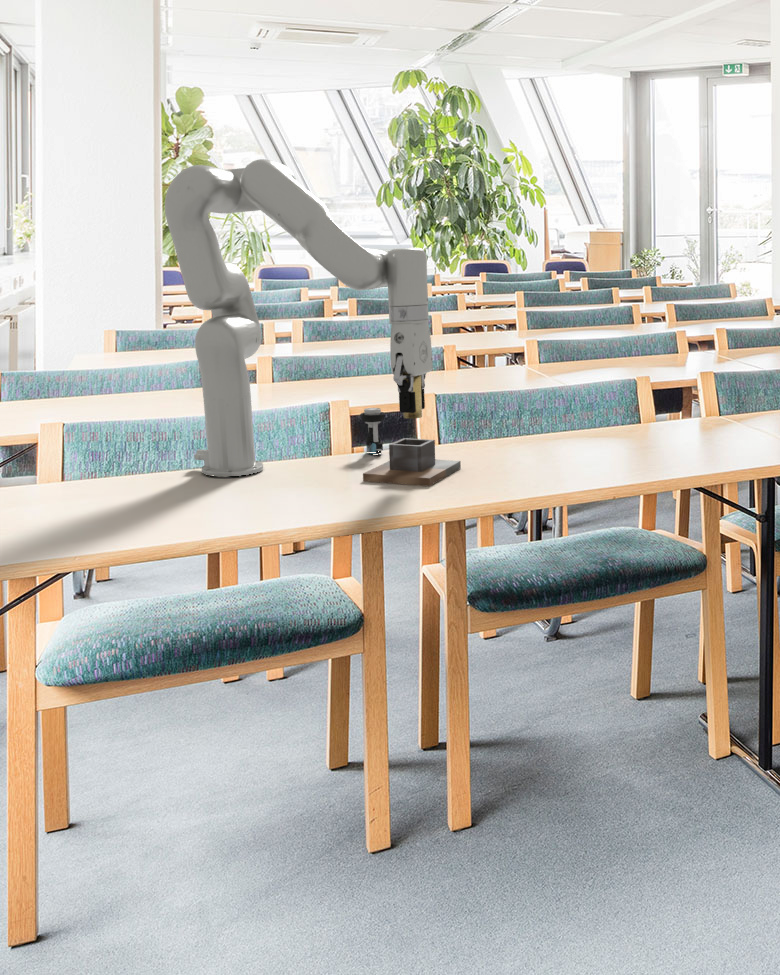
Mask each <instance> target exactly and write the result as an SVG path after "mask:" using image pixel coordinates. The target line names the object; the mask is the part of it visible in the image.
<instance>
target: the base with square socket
mask: <svg viewBox="0 0 780 975" xmlns="http://www.w3.org/2000/svg"><path fill="white" fill-rule="evenodd" d="M435 443H436V440H435V439H424V438H422V439H421V438H407V437H406V438H405V437H404V438H400V439H398V440H395V441H394V442H391V443H389V444H388V451H389V452H388V453H389V460H388V461H387V462H385V463H382V464H379V465H378V466H375V467H373V468H372V469H370V470H367V471H365V472H362V481H363V482H371V483H372V482H373V483H384V484H400V485H408V486H410V485H411V486H423V487H424V486H425V487H431V486H432V485H434V484H436V483H437V482H439V481H441V480H443V479H444V478H446V477H449V475H452V474H453V473H455V472H456V471H458V470H460V469H461V460H451V459H436V444H435Z"/></svg>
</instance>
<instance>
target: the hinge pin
mask: <svg viewBox="0 0 780 975" xmlns="http://www.w3.org/2000/svg"><path fill="white" fill-rule="evenodd" d="M403 375H409V374H408V373H407V372H403ZM406 380H407V382H408V379H406ZM413 392H415V401H416V412H414V413H403V418H404V419H412V420H413V419H420V418H422V417H423V409H422V396H421V375H418V376H414V377H413Z"/></svg>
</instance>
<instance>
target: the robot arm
mask: <svg viewBox="0 0 780 975" xmlns="http://www.w3.org/2000/svg"><path fill="white" fill-rule="evenodd" d="M164 199H165V200H164V215H165V220H166V223H167V226H168V230H169V233H170V236H171V240H172V243H173V247H174V251H175V254H176V258H177V262H178V265H179V270H180V274H181V276H182V281H183V284H184V288H185V291H186V295H187V297H188V299H189V301H190V303H191V304H192V305H193V306H194V307H195V308H196V309H199V310H201V311H210V312H211V315H212V317H211V318H209V319H207V320H206V321H204V322H203V323H202V324H201V325H200V326H199V328H198V329H197V332H196V335H195V340H194V347H195V354H196V358H197V363H198V366H199V372H200V378H201V387H202V398H203V409H204V411H203V412H204V422H205V433H206V445H207V446H206V447H207V449H197V450H196V453H194V457H193V458H194V460H195V461H203V462H204V463H203V464H204V465H203V466H202V467H201V468H200V469H201V473H202V472H203V473H204V474H207V475H214V476H239V477H242V476H241V475H246V476H250V475H249V474H251V475H254V474H253V473H255V474H257V472H258V473H259V472H262V471H263V470H264V463H263V462H261V461H258V460H256V453H255V436H254V422H253V412H252V411H253V410H252V394H251V384H250V377H249V372H248V367H247V365H246V364H247V363H246V361H245V360H246V359H249V358H250V357H252V356H254V354H256V352H257V351H258V350H259V349H260V346H261V343H262V329H261V324H260V321H259V320H260V319H259V317H258V314H257V310H256V306H255V303H254V299H253V294H252V292H251V288H250V284H249V282H248V280H247V277H246V276H245V274H244V272H243V271H242V270H241V269H240V268H239V267H238V266H237V265H235V264H233V263H231V262H228V261H224V258H223V255H222V251H221V249H220V245H219V240H218V237H217V234H216V232H215V229H214V228H213V226H212V223H211V221H210V218H209V214H210V213H213V214H214V213H216V214H236V213H243V212H244V213H246V212H247V213H248V212H255V211H257V212H258V211H261V212H262V213H264V214H265V215H266V216H268V218H269V219H271V220H272V221H273V222H275V223H276V224H277V225H278V226H279V227H281V228H282V229H283V230H284V231H286V232H287V233H288V234H289V235H291V237H293V238H294V239H295V240H296V241H297V242H298V243H299V245H300V246H301V247H302V249H304V250H305V251H306V252H307V253H308V254H309V255H310V257H312V258H313V259H314V260H315V261H316V262H317V263H318V264H319V265H320V266H321V267H322V268H324V269H325V270H326V271H327V272H328V273H330V275H332V276H334V278H336V279H337V280H338V281H339V282H341V283H342V284H344V285H345V286H347V287H348V288H350V289H352V290H355V291H365V290H366V291H368V290H375V289H379V288H384V287H387V298H388V319H389V320H388V321H389V322H388V324H390V326H391V327H390V344H389V345H390V351H389V352H390V353H389V354H390V355H389V356H390V368H391V373H392V374H393V377H392V378H393V381H394V382H395V384H396V385H397V391H398V400H399V401H398V402H399V412H400V413H402V414H404V413H414V412H416V401H415V392H413V377H414V376H418V375H421V396H422V410H425V407H426V406H425V405H426V403H425V388H426V387H425V386H426V384H425V381H426V380H425V379H426V376H427V374H428V373H430V372H431V371H432V370H433V367H434V365H433V364H434V363H433V350H432V340H431V331H430V327H429V326H430V325H429V322H430V320H429V317H430V316H429V295H428V294H429V293H428V262H427V254H426V251H425V250H424V249H423V248H420V247H403V248H401V247H400V248H394V249H390V250H384V249H375V248H365V247H363V246H362V245H360V244H359V243H358V242H357V241H356V240H354V238H353V237H351V236H350V235H349V234H348V233H346V232H345V231H344V230H343V229H342V228H340V227H339V225H337V223H336V222H335V221H334V220H333V218H332V217H331V215H330V212H329V209H328V207H327V206H326V204H325V203H324V202H323V201H322V200H320V199H319V198H318V197H316V195H314V194H313V193H312V192H310V191H309V190H307V188H305V187H304V186H303V185H301V183H299V182H298V181H297V178H296V177H295V174H294V173H293V171H292V170H291V169H290V168H289V167H287V166H286V165H285V164H283V163H280V162H277V161H273V160H270V159H264V158H263V159H255V160H253V161H252V162H250V163H249V164H247V165H246V166H245V167H243V168H242V167H241V168H231V169H230V168H229V169H223V168H218V167H215V166H212V165H211V166H210V165H205V164H197V165H191V166H188V167H186V168H185V169H182V170H181V171H180V172H179V173H178V174H176V176H175V177H174V178H173V179H172V181H171V182H170V185H169V186H168V188H167V191H166V194H165V198H164ZM403 372H407V373H408V374H409V375H403ZM406 379H408V382H407V380H406ZM204 474H203V475H204Z"/></svg>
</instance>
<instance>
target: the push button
mask: <svg viewBox="0 0 780 975" xmlns="http://www.w3.org/2000/svg"><path fill="white" fill-rule="evenodd" d="M381 410H382V409H381V408H380V407H366V408H364V409H363V412H361V413H360V414H359V415H360V417H361V422H364V424H367V425H368V426H367V428H368V432H367V437H366V438H365V439H366V442H365V443H366V453H367V452H376V453H370V454H369V453H368V454H367V455H371V454H378V455H379V456H383V454H382V451H383V449H384V447H383V443H382V442H381V436H380V435H379V434H380V433H379V430H378V429H379V427H378V426H379V424H381V423H382V422H383V421H385V414H386V413H385V412H382V411H381ZM378 451H379V452H378ZM379 453H381V454H379Z"/></svg>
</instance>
